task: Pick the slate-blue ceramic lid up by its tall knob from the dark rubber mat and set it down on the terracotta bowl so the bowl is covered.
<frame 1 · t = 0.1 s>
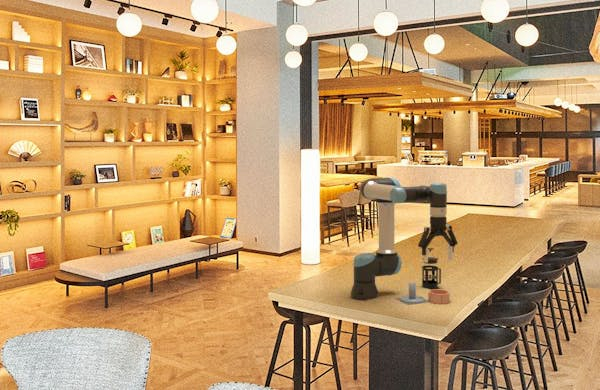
hand: (437, 260, 263), 28 cm above the table, fingers open, 13 cm apart
french press: (430, 287, 323), on the table
mat: (412, 301, 296), on the table
bowl: (439, 301, 294), on the table
lid: (412, 300, 296), resting on mat
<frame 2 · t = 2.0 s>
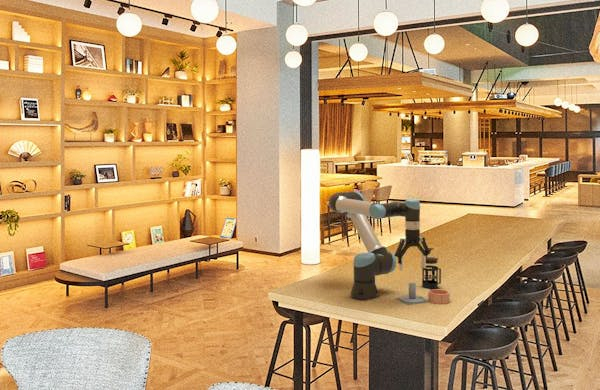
hand: (412, 268, 294), 17 cm above the table, fingers open, 13 cm apart
nothing on the table moved.
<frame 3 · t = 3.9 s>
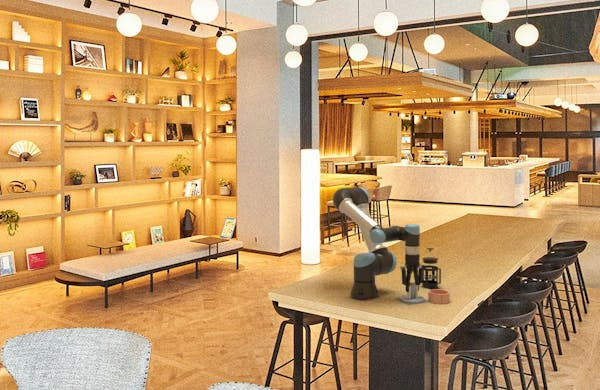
hand: (412, 297, 296), 2 cm above the table, fingers closed on lid, 3 cm apart
lid: (412, 299, 296), point 1 cm above the table, touching gripper
everything else where it was.
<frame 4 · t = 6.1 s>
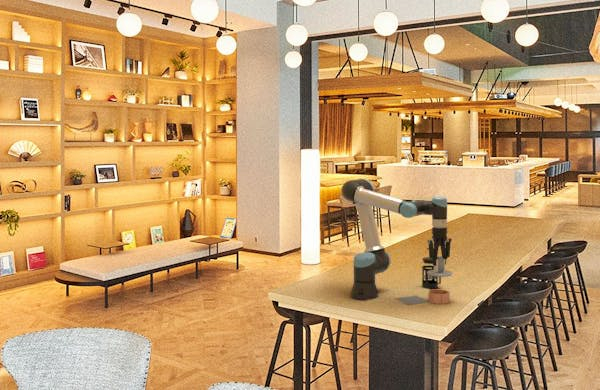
hand: (439, 271, 292), 16 cm above the table, fingers closed on lid, 3 cm apart
lid: (439, 274, 292), point 15 cm above the table, touching gripper
everything else where it was.
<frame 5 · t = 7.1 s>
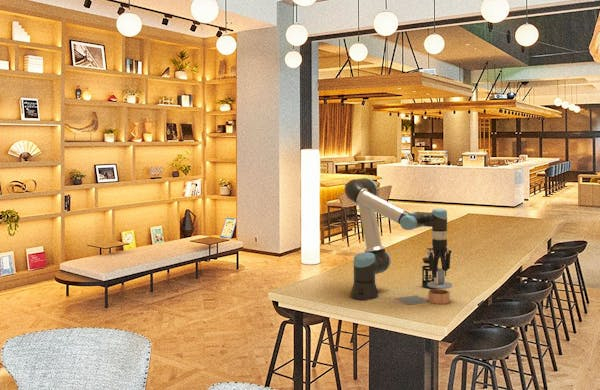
hand: (439, 282, 293), 10 cm above the table, fingers closed on lid, 3 cm apart
lid: (439, 285, 293), point 9 cm above the table, touching gripper
everything else where it was.
when the fingers open (8 cm above the table, at t = 8.1 s): lid drops 1 cm, resting on bowl.
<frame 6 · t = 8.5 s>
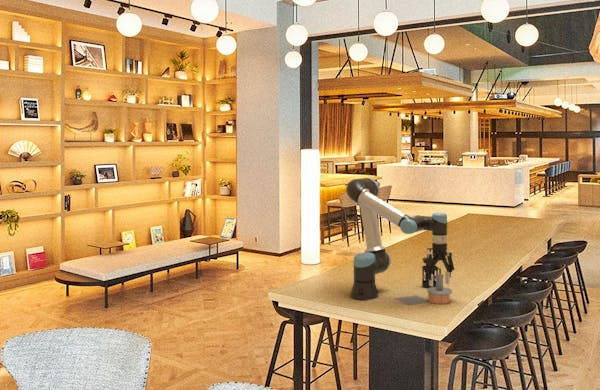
hand: (439, 284, 293), 9 cm above the table, fingers open, 9 cm apart
lid: (439, 291, 293), point 5 cm above the table, touching bowl
everything else where it was.
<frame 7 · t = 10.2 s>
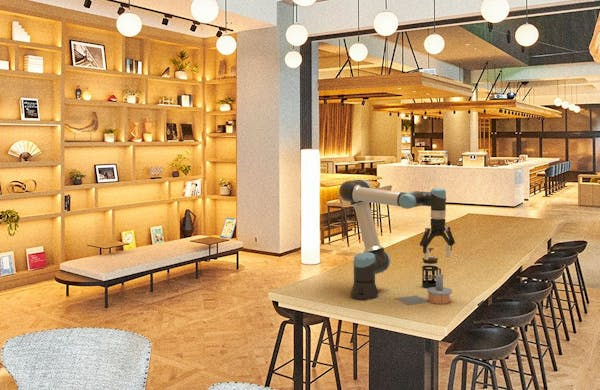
hand: (437, 258, 293), 23 cm above the table, fingers open, 13 cm apart
nothing on the table moved.
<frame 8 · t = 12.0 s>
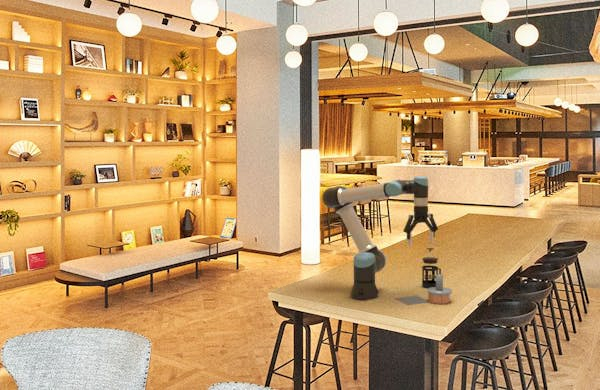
hand: (420, 244, 302), 29 cm above the table, fingers open, 13 cm apart
nothing on the table moved.
at the end: lid 0.1 cm from the bowl (horizontally); lid inside the target area on the bowl (0.1 cm from its centre), point 5.4 cm above the bowl's base; lid tilted 0° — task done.
